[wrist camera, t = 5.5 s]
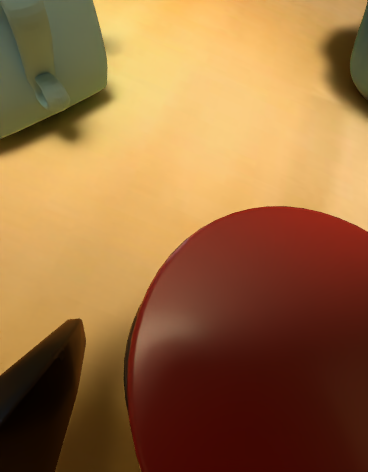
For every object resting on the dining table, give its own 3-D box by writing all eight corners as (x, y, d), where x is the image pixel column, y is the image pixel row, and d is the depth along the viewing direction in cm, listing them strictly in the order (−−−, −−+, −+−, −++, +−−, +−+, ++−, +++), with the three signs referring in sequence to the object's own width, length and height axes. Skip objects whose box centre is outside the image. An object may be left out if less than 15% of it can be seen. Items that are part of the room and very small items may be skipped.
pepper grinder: (214, 421, 13) (630, 936, 1) (135, 382, 14) (-22, 539, 2) (240, 334, 15) (509, 262, 3) (170, 303, 16) (196, 145, 4)
